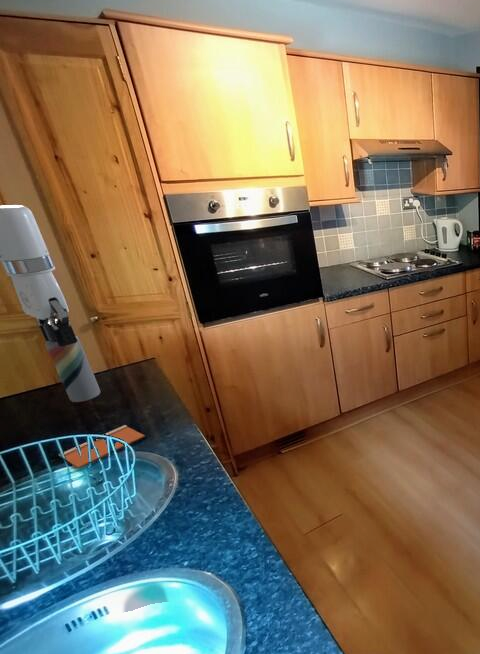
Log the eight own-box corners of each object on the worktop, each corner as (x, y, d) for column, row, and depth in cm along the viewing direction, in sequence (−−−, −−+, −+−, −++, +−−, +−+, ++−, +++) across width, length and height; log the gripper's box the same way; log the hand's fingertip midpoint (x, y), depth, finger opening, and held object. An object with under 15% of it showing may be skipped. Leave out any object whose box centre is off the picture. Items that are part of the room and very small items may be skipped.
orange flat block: (78, 468, 106) (77, 466, 106) (58, 455, 110) (57, 453, 110) (145, 436, 117) (144, 434, 117) (124, 426, 122) (124, 424, 121)
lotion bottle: (76, 392, 112) (43, 317, 104) (105, 388, 113) (74, 314, 106) (65, 404, 107) (29, 326, 99) (95, 400, 109) (62, 323, 101)
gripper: (-12, 264, 97) (23, 340, 105) (23, 274, 90) (59, 355, 98) (33, 257, 104) (64, 329, 111) (70, 266, 97) (100, 342, 104)
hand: (61, 341), depth 104 cm, fingers closed on lotion bottle, 5 cm apart
